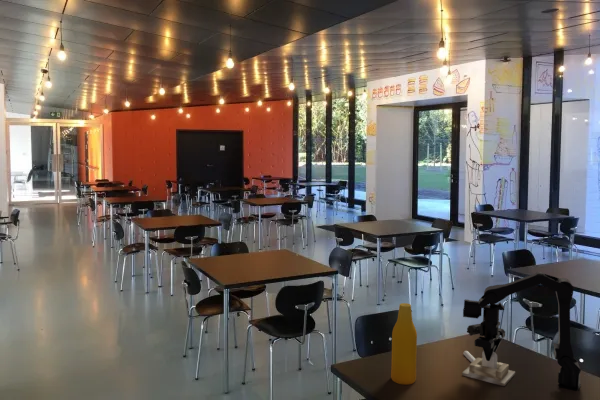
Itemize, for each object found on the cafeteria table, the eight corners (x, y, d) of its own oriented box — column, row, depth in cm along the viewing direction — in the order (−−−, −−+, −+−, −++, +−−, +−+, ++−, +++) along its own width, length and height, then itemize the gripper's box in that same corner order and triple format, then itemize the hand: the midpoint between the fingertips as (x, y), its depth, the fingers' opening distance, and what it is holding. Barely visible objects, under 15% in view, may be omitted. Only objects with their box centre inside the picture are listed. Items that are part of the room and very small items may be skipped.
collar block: (515, 374, 207) (515, 364, 207) (504, 386, 196) (505, 375, 196) (474, 364, 217) (474, 354, 216) (462, 375, 206) (462, 365, 205)
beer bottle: (386, 376, 204) (388, 302, 201) (407, 373, 207) (409, 300, 204) (399, 386, 195) (401, 309, 193) (420, 383, 198) (422, 306, 196)
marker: (463, 354, 230) (478, 369, 214) (459, 352, 230) (474, 366, 214) (467, 349, 230) (481, 363, 214) (462, 347, 230) (477, 361, 214)
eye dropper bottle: (487, 375, 203) (488, 344, 202) (480, 369, 209) (481, 339, 208) (498, 374, 204) (499, 344, 203) (490, 368, 209) (491, 339, 208)
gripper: (478, 310, 217) (476, 347, 218) (461, 321, 202) (460, 361, 203) (506, 315, 210) (504, 353, 211) (491, 327, 195) (489, 368, 197)
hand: (489, 359), depth 206 cm, fingers closed on eye dropper bottle, 4 cm apart
